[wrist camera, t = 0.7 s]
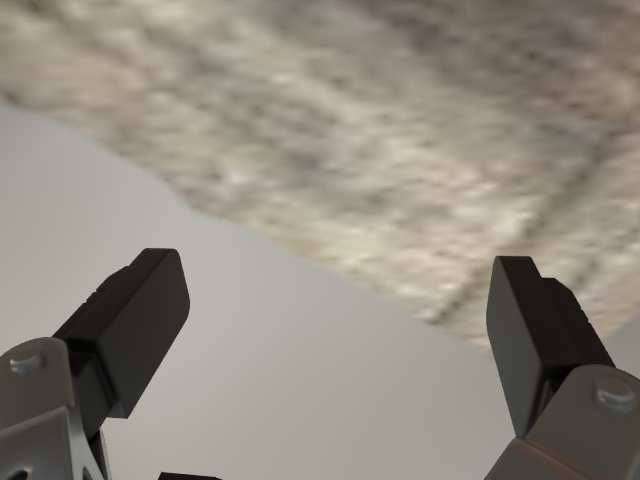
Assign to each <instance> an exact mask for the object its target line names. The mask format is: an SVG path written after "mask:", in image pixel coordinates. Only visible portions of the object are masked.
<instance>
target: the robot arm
mask: <svg viewBox="0 0 640 480" xmlns="http://www.w3.org/2000/svg"><path fill="white" fill-rule="evenodd" d="M189 309H190V298H189V293H188V289H187V285H186V281H185V277H184V272H183V268H182V264H181V260H180V256H179V253H178V252H177V250H175V249H167V248H146V249H144V250H143V251H142V252H141V253H140V254H139V255H138V256H137V257H136V258H135V260H134V261H133V262H132V263H131V264H130V265H129V266H125V267H124V268H122V269H120V270H119V271H117V272H115V273H114V274H112V275H110V276H109V277H108V278H107V279H106V280H105V281H104V282H103V283H102V284H101V285H100V286H99V287H98V288H97V289H96V292H94V293H92V295H91V296H90V297H89V298H88V299H87V302H86V303H83V304H82V305H81V306H80V307H79V308H78V310H77V311H75V313H74V314H73V315H72V316H71V317H70V318H69V319H68V320H67V321H66V322H65V323H64V324H63V325H62V326H61V327H60V329H58V331H57V332H56V333H55V334H54V335H53V336H52V337H43V338H37V339H33V340H29V341H26V342H24V343H21V344H19V345H17V346H15V347H13V348H12V349H10V350H9V351H7V352H5V353H4V354H3V355H2V356H1V357H0V480H112V476H111V471H110V466H109V460H108V454H107V449H106V444H105V438H104V434H103V431H102V429H101V425H102V424H103V422H104V420H105V419H106V417H111V418H124V419H128V417H129V416H130V414H131V412H132V411H133V409H134V407H135V405H136V404H137V402H138V400H139V399H140V397H141V395H142V394H143V392H144V390H145V389H146V387H147V385H148V384H149V382H150V380H151V379H152V377H153V375H154V374H155V372H156V370H157V369H158V367H159V365H160V364H161V362H162V360H163V358H164V357H165V355H166V354H167V352H168V350H169V348H170V347H171V345H172V343H173V342H174V340H175V338H176V337H177V335H178V333H179V332H180V330H181V328H182V327H183V325H184V323H185V322H186V320H187V317H188V314H189ZM486 324H487V332H488V336H489V340H490V344H491V347H492V351H493V354H494V358H495V362H496V365H497V369H498V372H499V376H500V379H501V383H502V387H503V390H504V394H505V398H506V401H507V405H508V408H509V412H510V416H511V419H512V423H513V427H514V430H515V434H516V437H515V438H514V439H513V440H512V441H511V442H510V443H509V445H508V446H507V448H506V449H505V451H504V452H503V453H502V455H501V456H500V457H499V459H498V460H497V462H496V463H495V465H494V466H493V468H492V469H491V471H490V472H489V473H488V475H487V476H486V477H485V479H484V480H640V379H638V378H636V377H635V376H633V375H631V374H629V373H627V372H625V371H622V370H620V369H617V368H616V366H615V365H614V363H613V361H612V359H611V358H610V356H609V354H608V352H607V351H606V350H605V347H604V346H603V344H602V342H601V341H600V339H599V337H598V335H597V334H596V332H595V330H594V329H593V327H592V325H591V323H588V318H587V317H586V315H585V313H584V311H583V310H581V306H580V305H579V303H578V301H577V299H576V298H575V296H574V294H573V293H572V291H571V290H569V289H568V288H567V287H566V286H564V285H563V284H562V283H560V282H559V281H558V280H557V279H555V278H542V277H541V275H540V273H539V271H538V269H537V268H536V266H535V264H534V262H533V260H532V258H531V257H529V256H496V258H495V260H494V264H493V270H492V276H491V283H490V290H489V296H488V303H487V311H486ZM158 480H222V479H219V478H216V477H208V476H198V475H188V474H176V473H166V472H165V473H164V472H161V474H160V476H159V478H158Z"/></svg>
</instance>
